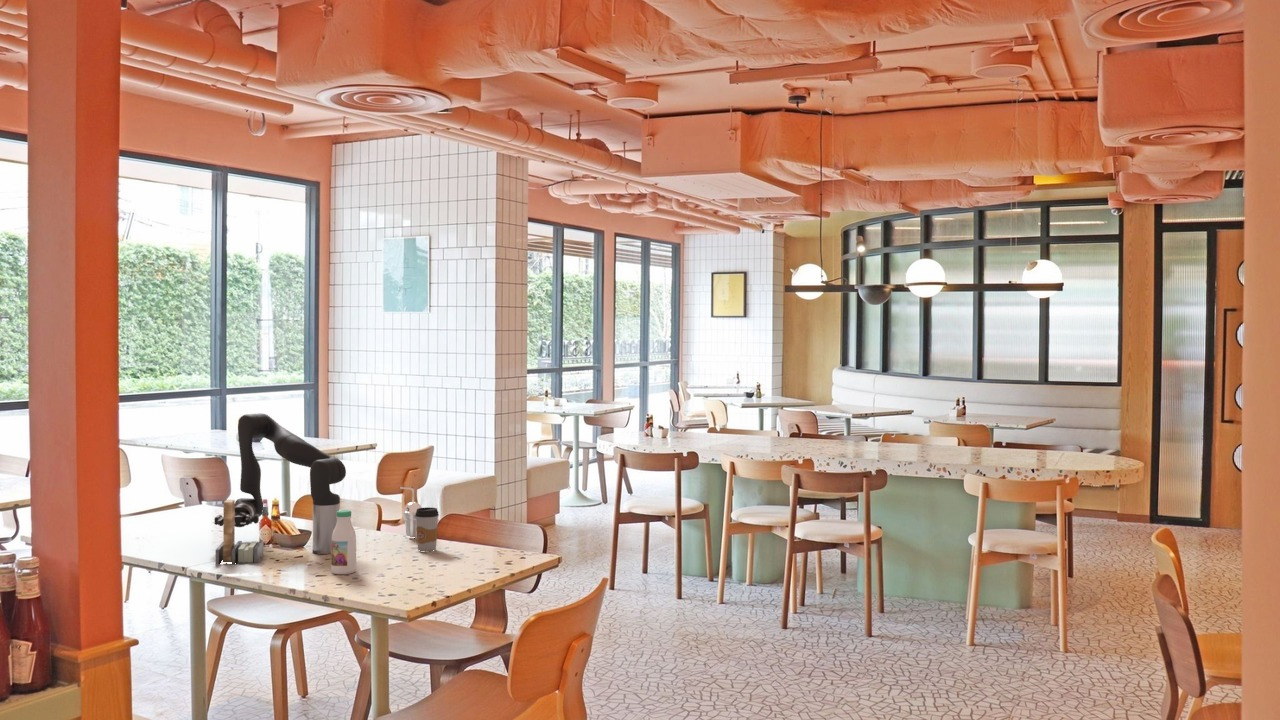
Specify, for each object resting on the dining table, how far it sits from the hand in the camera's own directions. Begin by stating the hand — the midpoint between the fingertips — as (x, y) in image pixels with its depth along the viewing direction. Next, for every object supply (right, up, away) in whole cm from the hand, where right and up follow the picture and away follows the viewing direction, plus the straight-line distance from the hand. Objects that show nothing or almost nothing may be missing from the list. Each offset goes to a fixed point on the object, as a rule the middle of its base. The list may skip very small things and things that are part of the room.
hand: (233, 522), depth 336 cm
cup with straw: (+53, -12, +37) cm, 66 cm away
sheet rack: (+5, -12, -8) cm, 15 cm away
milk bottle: (+45, -13, -21) cm, 51 cm away
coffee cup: (+64, -12, +13) cm, 67 cm away
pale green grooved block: (+8, -11, -7) cm, 15 cm away
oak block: (+2, -11, -9) cm, 14 cm away
